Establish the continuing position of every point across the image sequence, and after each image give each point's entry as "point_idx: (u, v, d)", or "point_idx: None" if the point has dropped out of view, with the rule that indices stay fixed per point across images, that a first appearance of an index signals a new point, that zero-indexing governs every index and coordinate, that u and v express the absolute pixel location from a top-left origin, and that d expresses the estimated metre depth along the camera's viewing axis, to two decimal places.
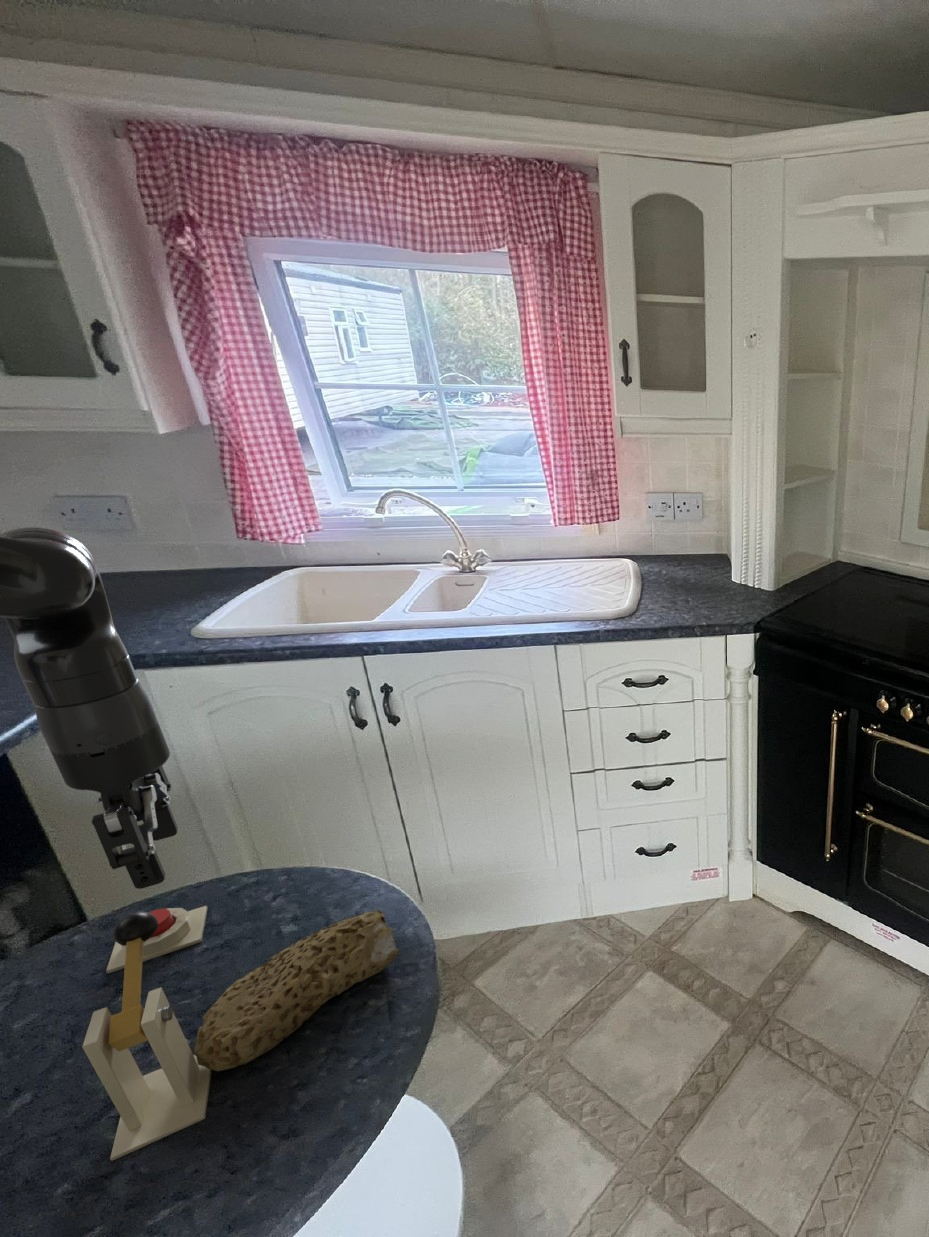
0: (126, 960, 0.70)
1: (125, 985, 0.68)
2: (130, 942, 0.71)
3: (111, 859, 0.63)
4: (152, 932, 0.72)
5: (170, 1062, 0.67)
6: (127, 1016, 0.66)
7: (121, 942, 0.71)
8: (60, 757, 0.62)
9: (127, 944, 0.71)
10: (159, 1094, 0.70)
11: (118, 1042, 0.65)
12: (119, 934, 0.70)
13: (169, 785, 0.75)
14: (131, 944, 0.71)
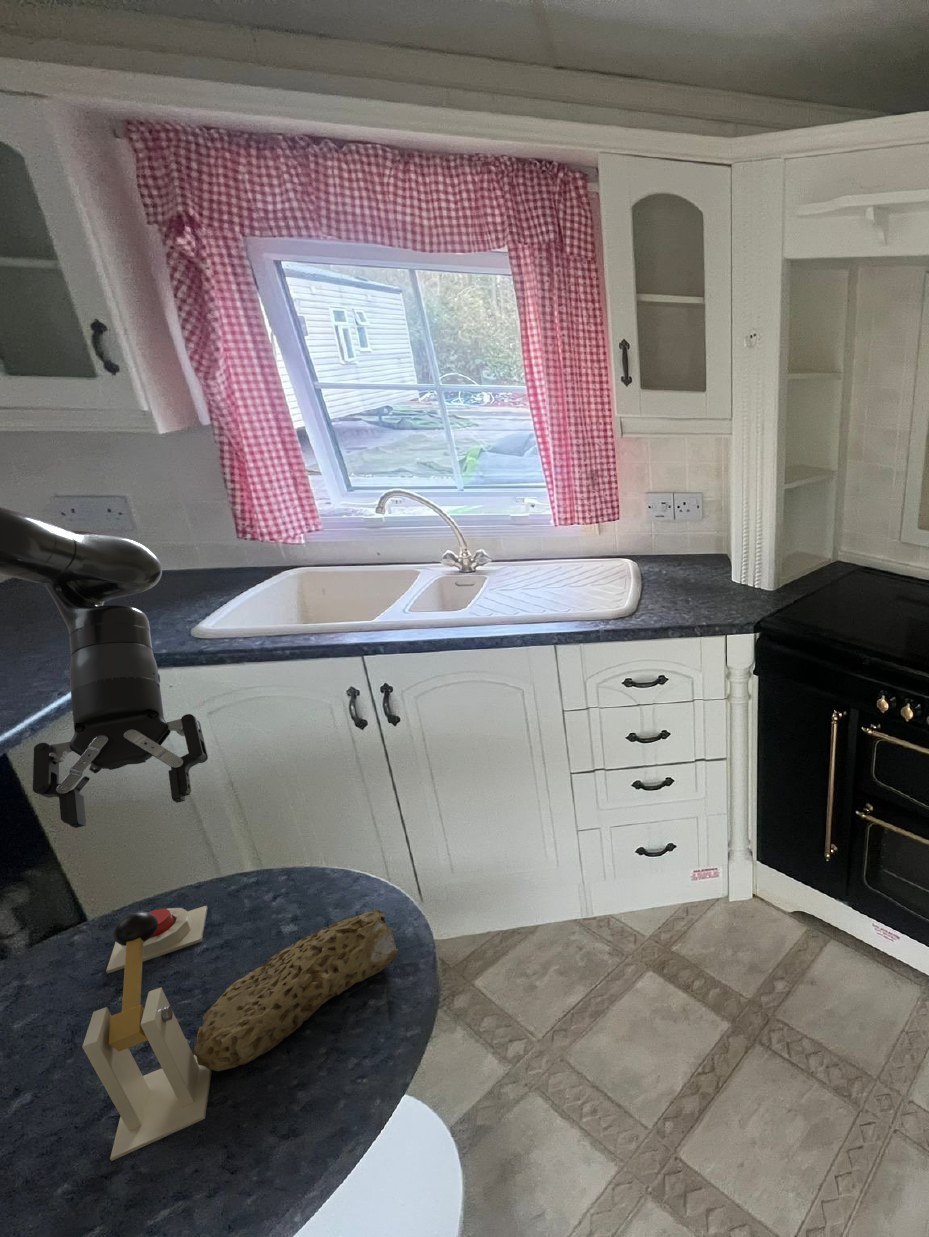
0: (126, 960, 0.70)
1: (125, 985, 0.68)
2: (130, 942, 0.71)
3: (201, 746, 0.82)
4: (152, 932, 0.72)
5: (170, 1062, 0.67)
6: (127, 1016, 0.66)
7: (121, 942, 0.71)
8: (138, 680, 0.81)
9: (127, 944, 0.71)
10: (159, 1094, 0.70)
11: (118, 1042, 0.65)
12: (119, 934, 0.70)
13: None
14: (131, 944, 0.71)
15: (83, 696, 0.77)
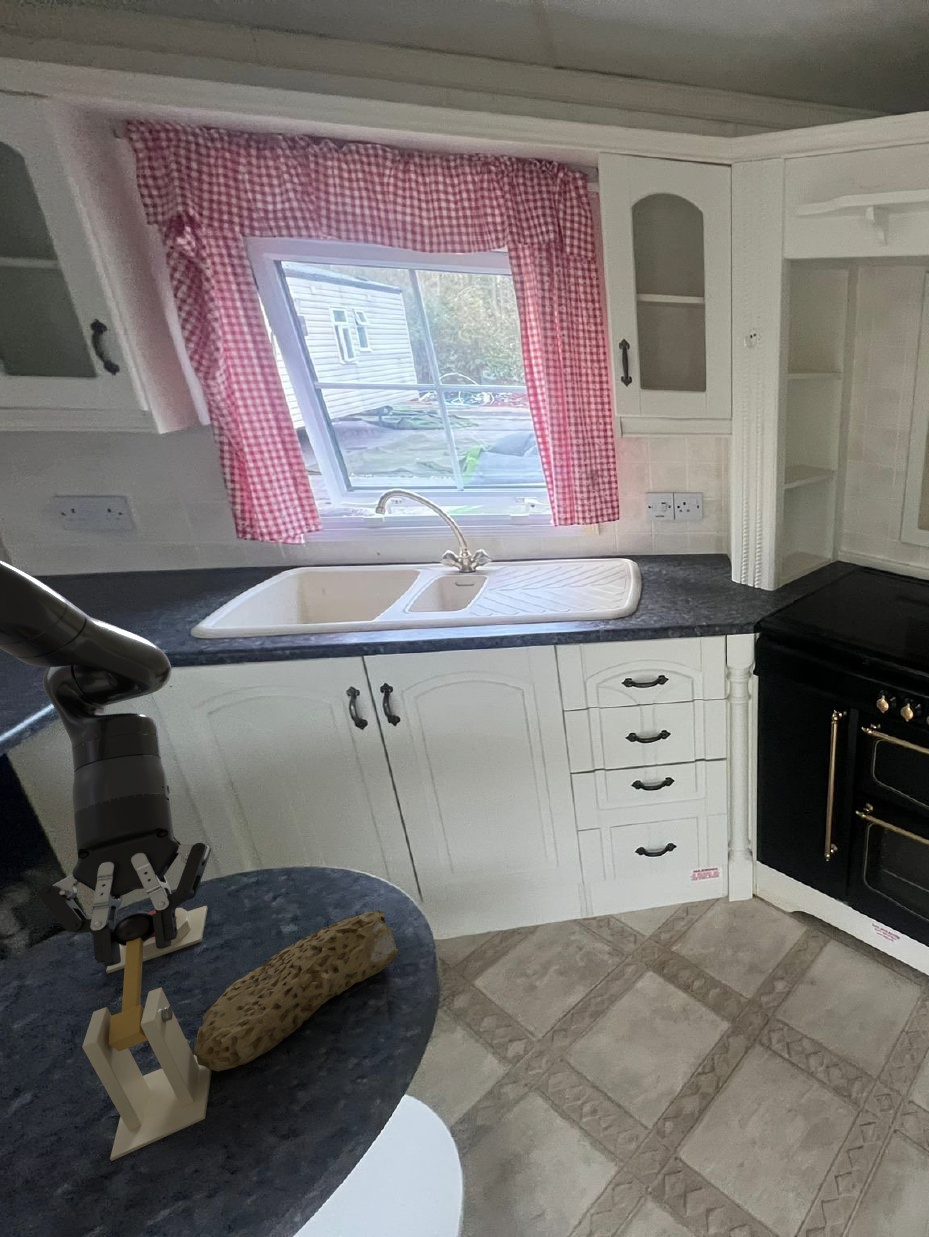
0: (126, 960, 0.70)
1: (125, 985, 0.68)
2: (130, 942, 0.71)
3: (192, 885, 0.75)
4: (152, 932, 0.72)
5: (170, 1062, 0.67)
6: (127, 1016, 0.66)
7: (121, 942, 0.71)
8: (146, 797, 0.75)
9: (127, 944, 0.71)
10: (159, 1094, 0.70)
11: (118, 1042, 0.65)
12: (119, 934, 0.70)
13: None
14: (131, 944, 0.71)
15: (87, 820, 0.72)
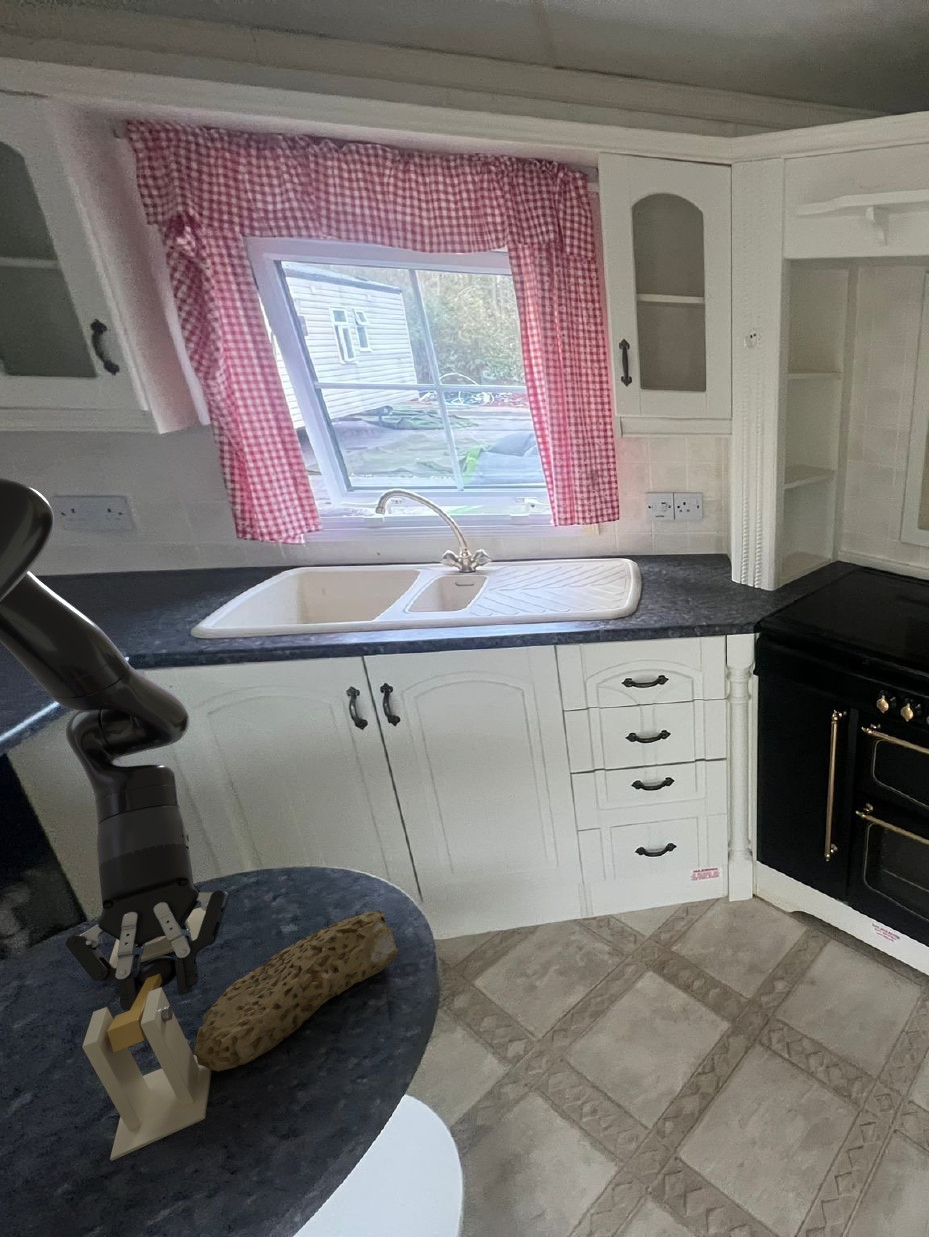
0: (142, 987, 0.72)
1: (136, 1001, 0.69)
2: (150, 977, 0.73)
3: (212, 932, 0.78)
4: (172, 972, 0.75)
5: (170, 1062, 0.67)
6: (130, 1013, 0.66)
7: (142, 979, 0.73)
8: (167, 847, 0.78)
9: (147, 979, 0.73)
10: (159, 1094, 0.70)
11: (116, 1032, 0.64)
12: (142, 970, 0.74)
13: None
14: (150, 978, 0.73)
15: (111, 872, 0.75)
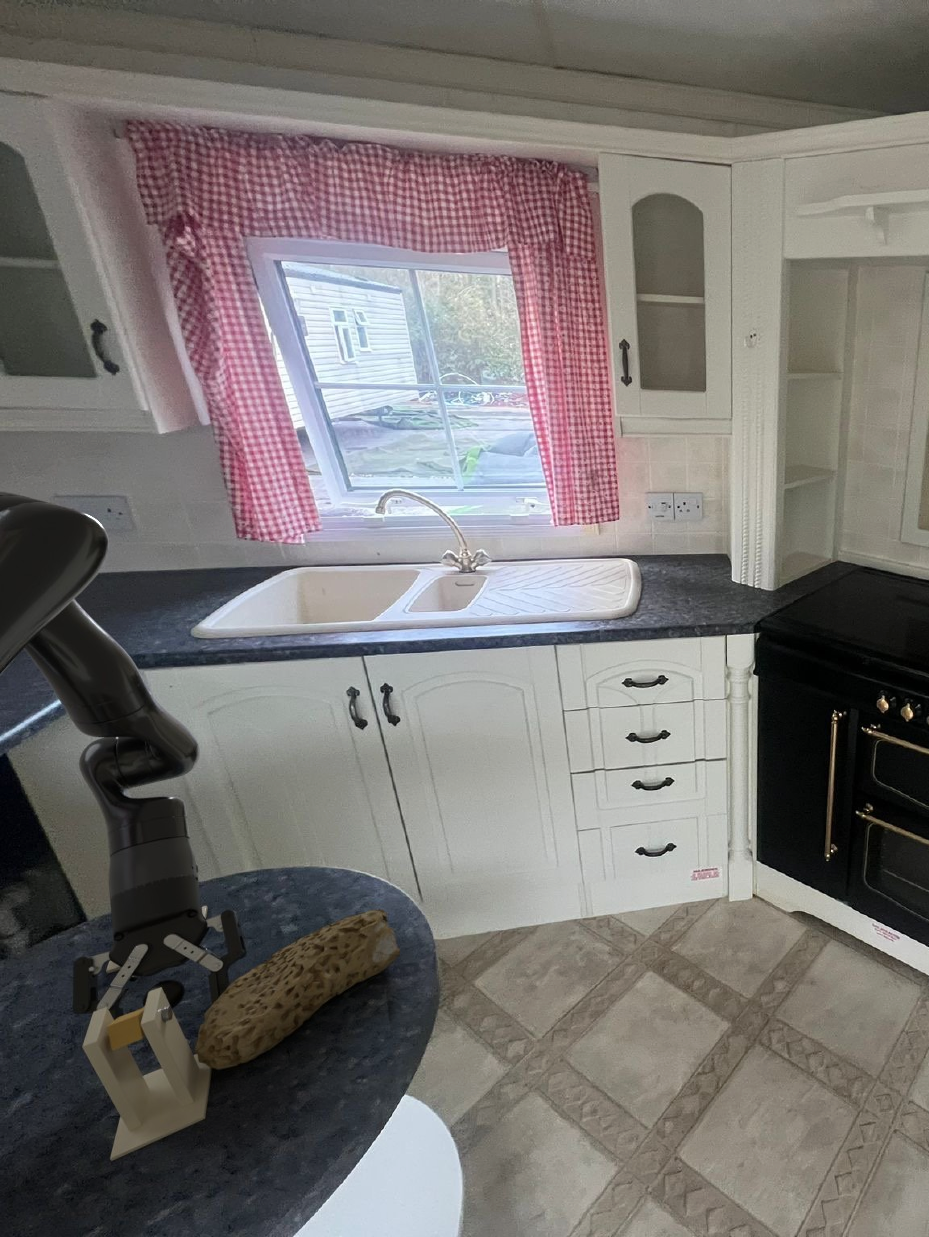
0: None
1: None
2: None
3: (240, 945, 0.80)
4: (177, 994, 0.75)
5: (170, 1062, 0.67)
6: (131, 1013, 0.67)
7: None
8: (178, 879, 0.79)
9: None
10: (159, 1094, 0.70)
11: (115, 1028, 0.65)
12: (148, 992, 0.74)
13: None
14: None
15: (123, 904, 0.76)
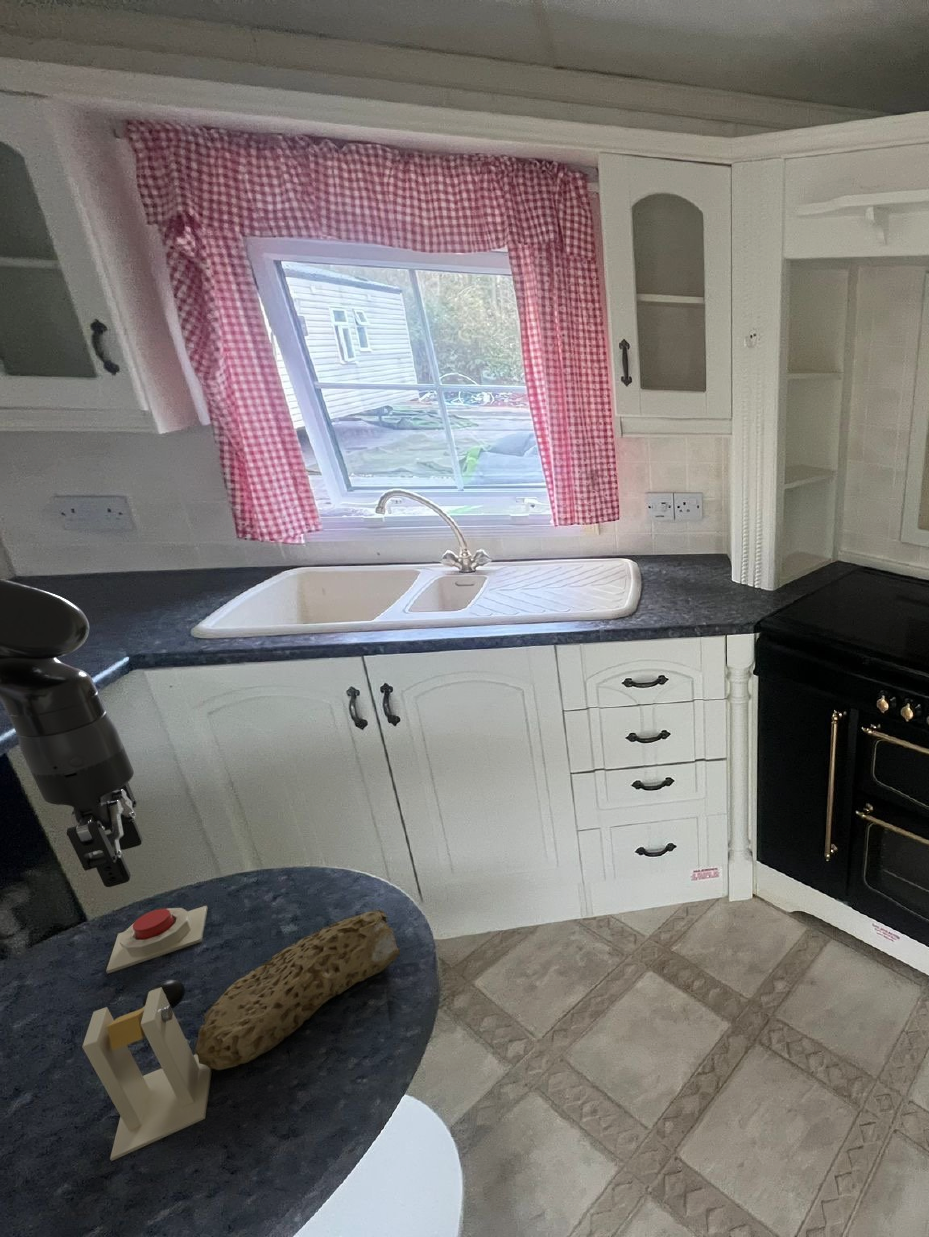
0: None
1: None
2: None
3: (83, 863, 0.76)
4: (177, 994, 0.75)
5: (170, 1062, 0.67)
6: (131, 1013, 0.67)
7: None
8: (39, 777, 0.75)
9: None
10: (159, 1094, 0.70)
11: (115, 1028, 0.65)
12: (148, 992, 0.74)
13: (135, 802, 0.87)
14: None
15: None
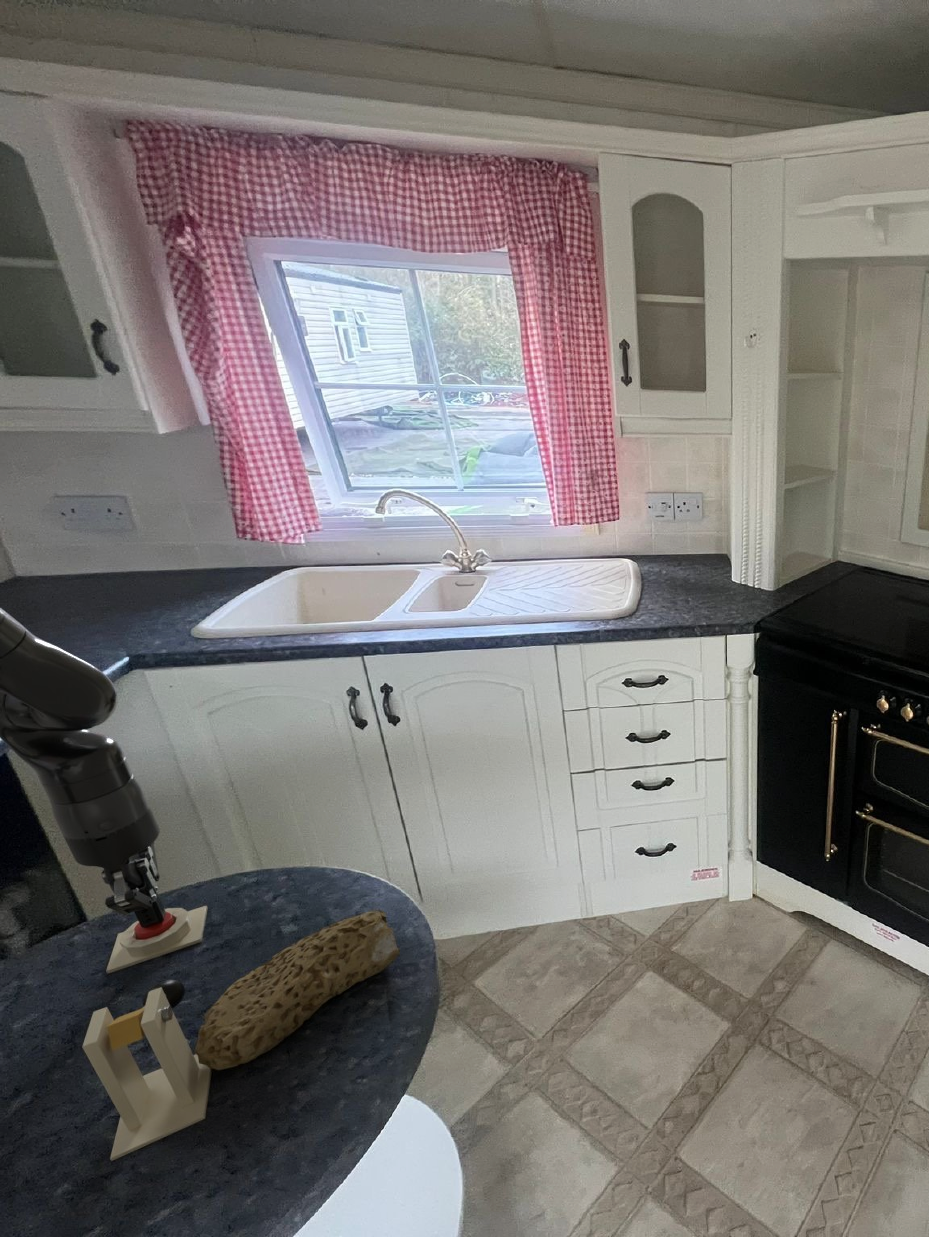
0: None
1: None
2: None
3: (124, 913, 0.83)
4: (177, 994, 0.75)
5: (170, 1062, 0.67)
6: (131, 1013, 0.67)
7: None
8: (71, 841, 0.78)
9: None
10: (159, 1094, 0.70)
11: (115, 1028, 0.65)
12: (148, 992, 0.74)
13: (158, 875, 0.88)
14: None
15: None
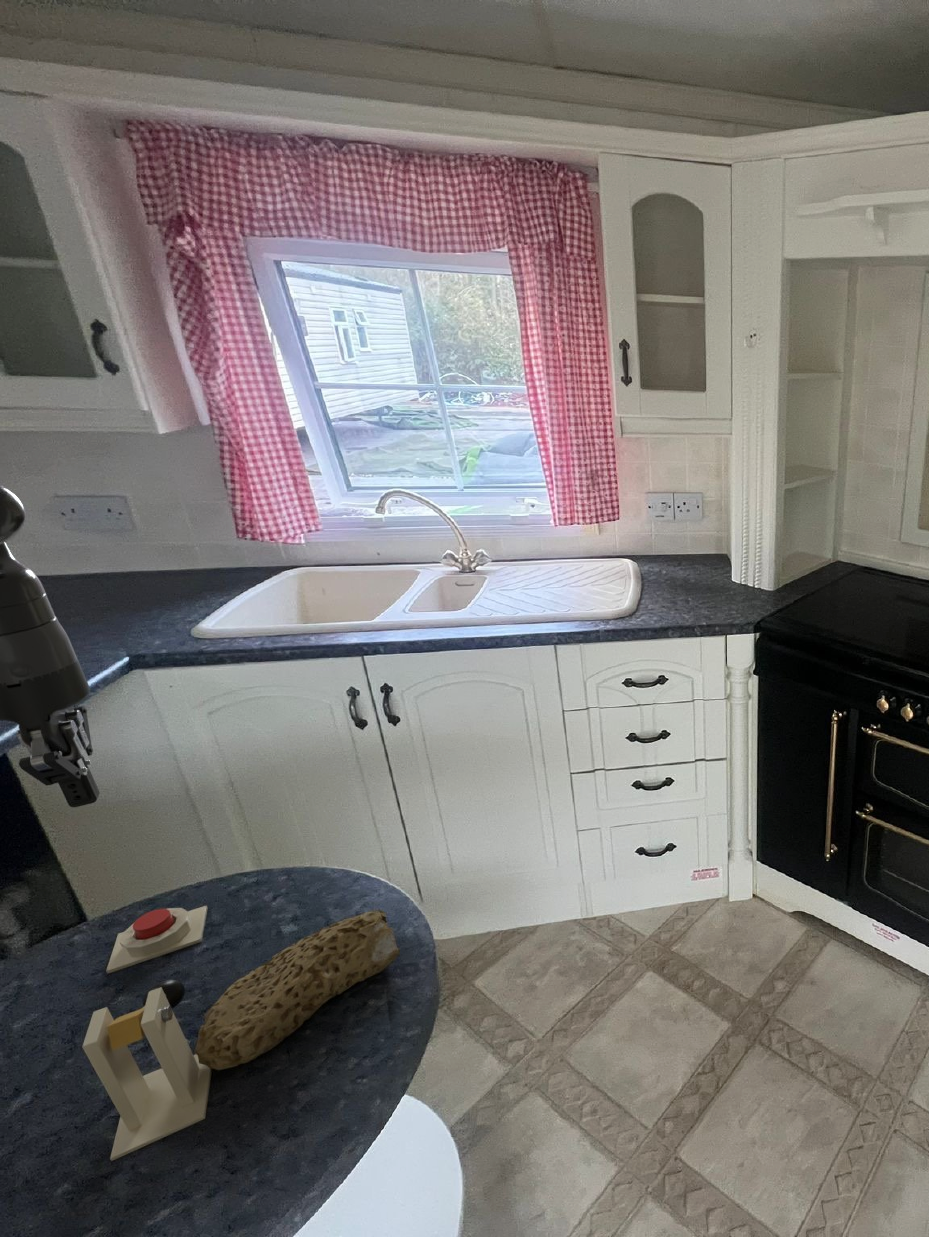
0: None
1: None
2: None
3: (45, 782, 0.70)
4: (177, 994, 0.75)
5: (170, 1062, 0.67)
6: (131, 1013, 0.67)
7: None
8: None
9: None
10: (159, 1094, 0.70)
11: (115, 1028, 0.65)
12: (148, 992, 0.74)
13: (90, 748, 0.76)
14: None
15: None
